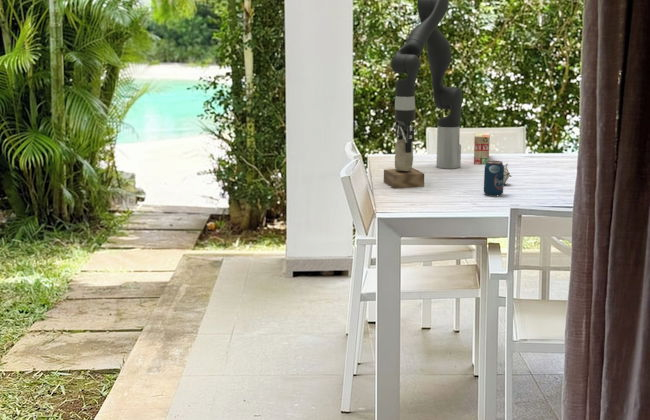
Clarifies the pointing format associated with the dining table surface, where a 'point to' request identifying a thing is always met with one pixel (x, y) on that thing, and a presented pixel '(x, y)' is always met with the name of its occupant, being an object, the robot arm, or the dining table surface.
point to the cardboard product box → (481, 148)
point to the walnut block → (403, 178)
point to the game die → (506, 174)
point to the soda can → (493, 178)
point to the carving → (403, 157)
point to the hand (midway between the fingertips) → (404, 150)
